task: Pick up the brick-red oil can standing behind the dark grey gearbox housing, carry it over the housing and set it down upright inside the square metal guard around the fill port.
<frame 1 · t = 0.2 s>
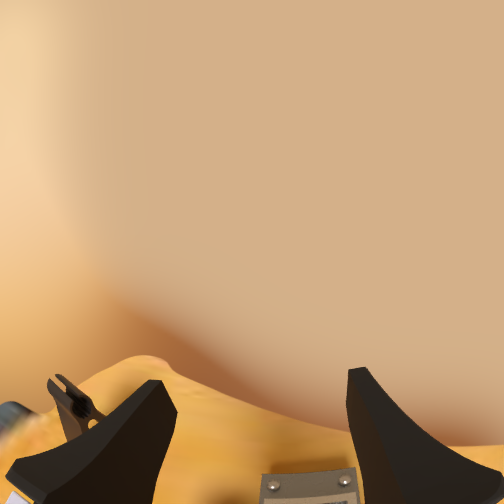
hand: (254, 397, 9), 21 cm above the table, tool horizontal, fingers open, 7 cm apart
phone stand: (108, 452, 25), on the table
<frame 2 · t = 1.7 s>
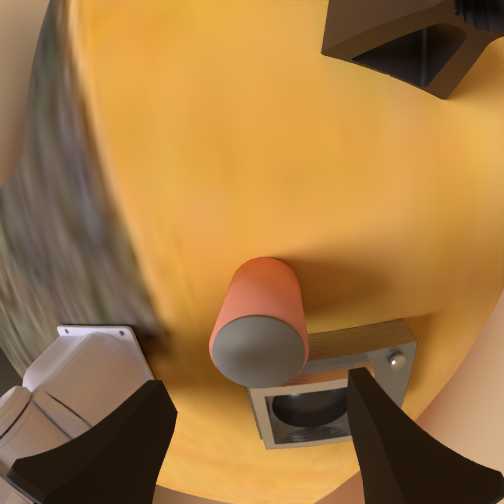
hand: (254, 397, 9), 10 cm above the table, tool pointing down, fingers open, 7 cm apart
phone stand: (389, 41, 13), on the table
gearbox: (328, 375, 20), on the table
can: (265, 289, 19), on the table
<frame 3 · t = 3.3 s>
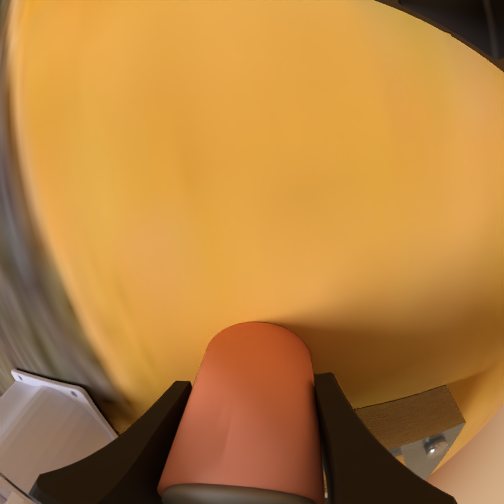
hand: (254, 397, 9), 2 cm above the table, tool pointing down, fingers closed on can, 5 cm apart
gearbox: (341, 450, 13), on the table
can: (257, 365, 11), on the table, touching gripper
when the fingers open (6 cm above the table, at t = 6.5 s): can stays where it is, resting on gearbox.
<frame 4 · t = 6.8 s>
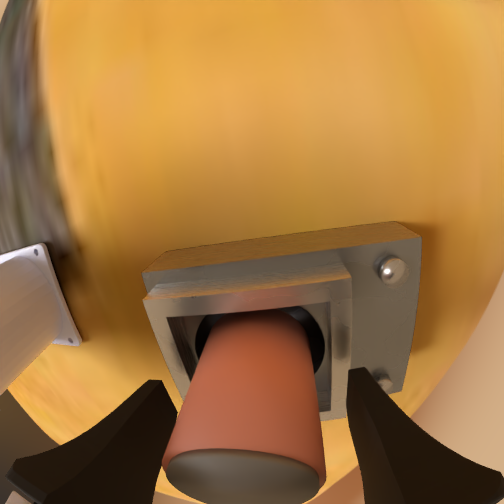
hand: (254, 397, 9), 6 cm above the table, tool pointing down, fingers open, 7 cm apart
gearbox: (290, 315, 15), on the table
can: (258, 349, 12), point 3 cm above the table, touching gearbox
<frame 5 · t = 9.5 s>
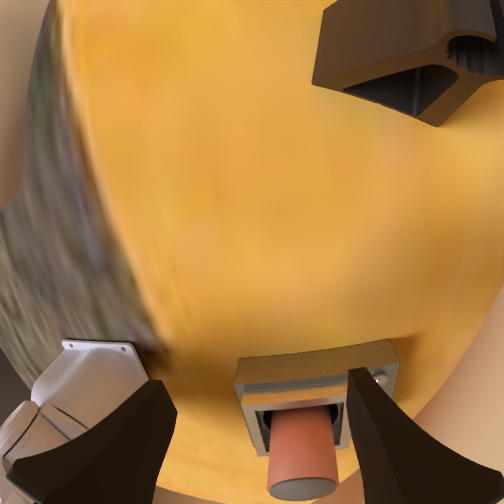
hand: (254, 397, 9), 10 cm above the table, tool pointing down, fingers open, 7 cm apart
phone stand: (382, 66, 14), on the table
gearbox: (316, 389, 22), on the table
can: (300, 416, 19), point 3 cm above the table, touching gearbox
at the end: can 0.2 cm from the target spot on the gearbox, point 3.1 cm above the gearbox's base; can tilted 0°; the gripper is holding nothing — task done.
